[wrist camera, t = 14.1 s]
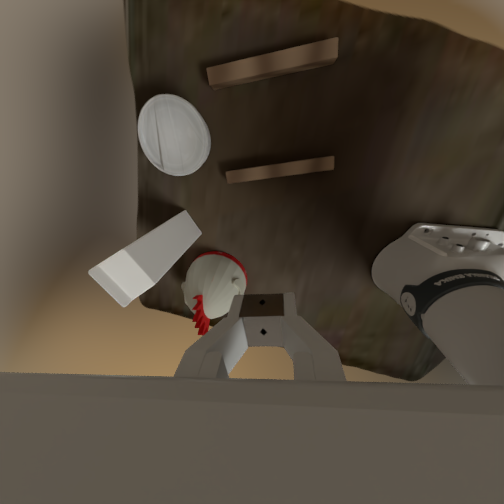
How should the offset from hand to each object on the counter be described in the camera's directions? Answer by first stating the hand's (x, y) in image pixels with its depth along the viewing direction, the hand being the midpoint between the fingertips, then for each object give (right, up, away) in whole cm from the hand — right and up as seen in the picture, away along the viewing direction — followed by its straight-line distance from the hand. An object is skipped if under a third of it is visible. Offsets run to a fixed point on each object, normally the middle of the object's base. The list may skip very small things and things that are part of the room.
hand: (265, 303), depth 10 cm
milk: (-15, +8, +33) cm, 37 cm away
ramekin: (-13, +23, +26) cm, 36 cm away
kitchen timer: (-9, -3, +38) cm, 39 cm away
